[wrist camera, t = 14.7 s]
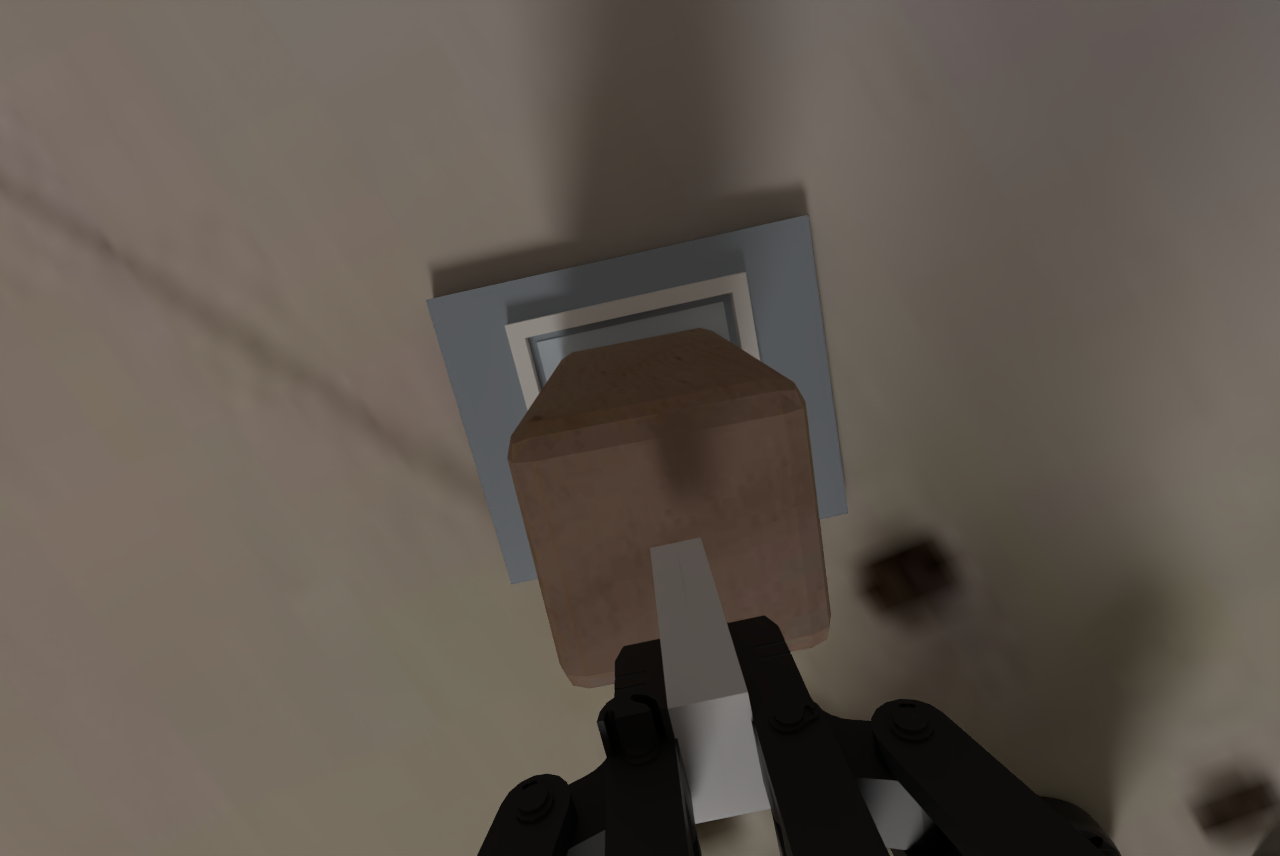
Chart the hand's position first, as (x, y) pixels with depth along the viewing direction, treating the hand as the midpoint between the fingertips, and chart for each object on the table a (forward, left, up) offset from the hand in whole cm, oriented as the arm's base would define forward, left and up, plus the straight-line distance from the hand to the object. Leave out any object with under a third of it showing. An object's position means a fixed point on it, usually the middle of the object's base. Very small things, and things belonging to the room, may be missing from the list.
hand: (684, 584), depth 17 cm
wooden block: (0, 0, -23) cm, 23 cm away
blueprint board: (0, 0, -24) cm, 24 cm away
